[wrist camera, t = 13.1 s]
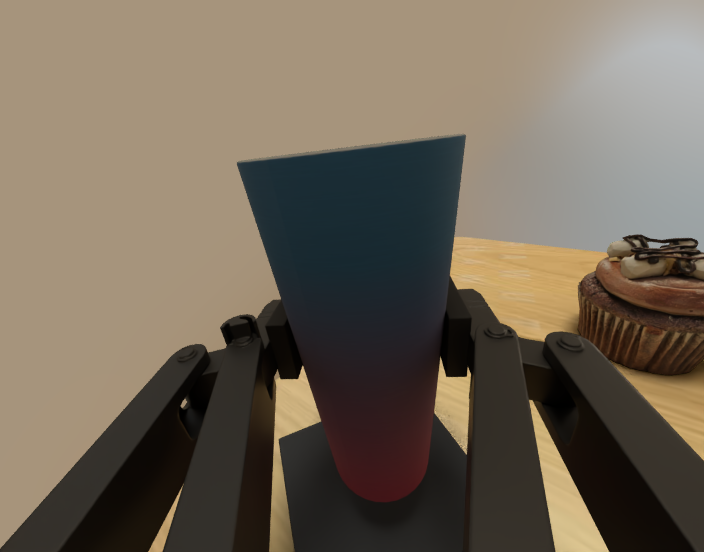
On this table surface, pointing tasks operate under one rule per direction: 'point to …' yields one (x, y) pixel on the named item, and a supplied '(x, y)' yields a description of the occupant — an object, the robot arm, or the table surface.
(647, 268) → the cupcake
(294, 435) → the mat
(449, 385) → the table surface
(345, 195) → the cup
